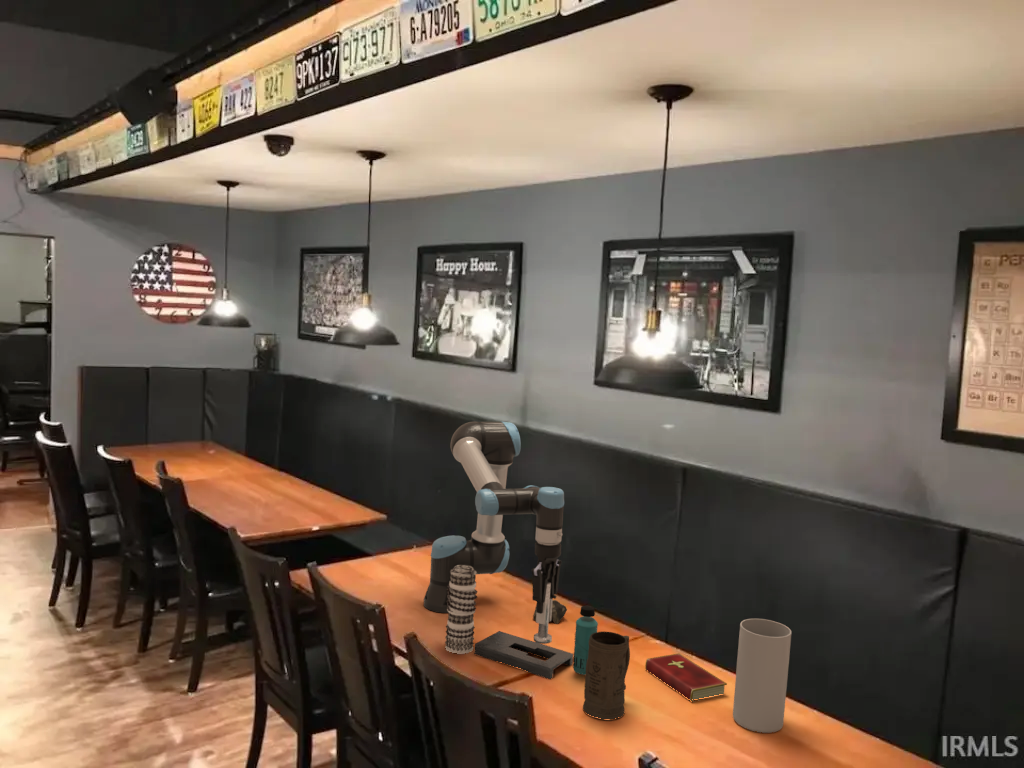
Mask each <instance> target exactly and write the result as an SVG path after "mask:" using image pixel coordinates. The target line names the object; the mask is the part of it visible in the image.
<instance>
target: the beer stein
mask: <svg viewBox="0 0 1024 768" xmlns="http://www.w3.org/2000/svg"><path fill="white" fill-rule="evenodd" d="M630 657H631V651H630V636H629V635H622V634H619V633H616V632H612V631H597V632H595V633H593V634H591V636H590V640H589V651H588V659H587V664H586V675H584V676H585V678H584V692H583V694H584V697H583V698H584V701H583V705H582V710H583V709H584V710H583V712H584V711H585V712H586V713H587V714H589V715H591V716H594V717H598V718H601V719H615V718H618V717H621V716H622V717H623V716H624V715H625V713H624V712H626V711H625V702H626V700H625V695H626V694H625V690H626V689H627V685H626V683H625V681H626V675H627V672H628V669H629V665H630V659H631V658H630ZM585 712H584V713H585ZM586 713H585V714H586ZM587 714H586V715H587ZM623 714H624V715H623ZM589 715H588V716H589ZM622 717H621V718H622Z"/></svg>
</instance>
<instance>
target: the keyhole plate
mask: <svg viewBox="0 0 1024 768" xmlns="http://www.w3.org/2000/svg"><path fill="white" fill-rule="evenodd" d="M512 647H513V648H512ZM515 648H516V649H515ZM518 649H519V650H518ZM521 650H522V651H521ZM525 651H526V652H525ZM528 652H529V653H528ZM531 653H532V654H531ZM473 654H474V655H475V654H476V656H479V657H482V658H485V659H488V660H490V659H491V660H490V661H493V662H496V661H498V662H497V663H499V662H502V663H505V664H508V665H511V666H514V667H518V668H521V669H523V670H526V671H528V672H527V673H529V674H533V675H535V676H538V677H541V678H544V677H545V679H547V678H548V680H552V679H553V678H554V670H555V669H557V668H558V667H560V666H561V665H567V666H569V667H571V666H573V663H574V662H573V657H574V655H573V654H574V652H573V653H571V652H568V651H566V650H563V649H559V648H557V647H553V646H550V645H547V644H541V643H537V642H535V641H534V640H530V639H527V638H523V637H519V636H517V635H513V634H510V633H507V632H504V631H500V630H499V631H497V632H496V631H495V632H494V633H492V634H490V635H489V636H487V637H485V638H482V640H479V641H477V642H476V643H474V653H473ZM529 654H531V655H534V654H535V656H537V655H538V656H537V657H540V656H541V657H540V658H543V657H545V658H544V659H546V660H543V659H540V658H537V657H534V656H530V655H529ZM547 658H548V659H547ZM502 663H501V664H502ZM505 664H504V665H505ZM508 665H507V666H508ZM511 666H510V667H511ZM514 667H513V668H514ZM523 670H522V671H523ZM526 671H525V672H526ZM551 678H552V679H551Z"/></svg>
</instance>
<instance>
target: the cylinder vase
mask: <svg viewBox="0 0 1024 768" xmlns="http://www.w3.org/2000/svg"><path fill="white" fill-rule="evenodd" d="M738 634H739V637H738V649H737V659H736V670H735V671H736V672H735V681H734V682H735V683H734V684H735V685H734V695H733V707H732V718H733V720H734V721H735V722H736V723H737V724H738V725H739V726H741V727H742V728H744V729H746V728H747V730H749V731H753V732H755V731H757V732H756V733H761V732H762V734H763V733H764V734H771V733H772V732H773V733H776V732H778V731H780V730H782V728H783V727H784V721H785V708H786V698H787V687H788V677H789V675H788V674H789V665H790V655H791V653H790V651H791V643H792V630H791V629H790V628H789V627H788V626H786V624H783V623H780V622H779V621H778V622H777V621H774V620H771V619H765V618H747V619H743V620H742V621H741V622H740V624H739V633H738Z"/></svg>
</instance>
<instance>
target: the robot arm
mask: <svg viewBox="0 0 1024 768" xmlns="http://www.w3.org/2000/svg"><path fill="white" fill-rule="evenodd" d="M518 429H519V428H517V426H516V425H515V423H514V422H510V421H508V422H506V421H502V420H501V421H469V422H466V423H463V424H462V425H460V426H459V427H458V428H456V430H455V431H454V433H453V434H452V436H451V440H450V451H451V454H452V455H453V457H454V460H456V461H457V462H458V463H460V464H461V466H462V467H463V469H464V472H465V473H466V475H467V477H468V479H469V480H470V482H471V484H472V486H473V488H474V489H475V491H476V495H475V498H474V499H475V500H474V503H475V505H474V506H475V509H476V512H477V521H476V529H475V530H474V531H473V532H472V533H471V537H470V540H469V539H468V540H467V539H466V537H465V536H461V535H447V536H441V537H439V538H437V539H435V540H434V541H433V542H432V545H431V552H430V572H429V573H430V575H429V576H430V577H429V583H428V586H427V589H426V592H425V595H424V597H423V607H424V608H425V609H427V610H429V611H432V612H435V613H444V614H448V613H449V612H448V611H447V607H448V605H447V600H448V598H447V596H448V591H447V589H448V587H447V585H448V584H449V583H450V576H451V573H450V571H451V570H452V569H453V568H454V567H455V566H457V565H469V566H471V567H473V569H474V570H475V571H476V572H477V574H476V575H487V574H489V575H492V574H497V573H502V572H503V571H504V570H505V569H506V568H507V566H508V564H509V559H510V545H509V542H508V541H507V539H505V538H506V537H505V535H504V533H503V532H502V525H503V517H504V515H506V516H507V515H508V516H509V515H531V514H532V515H535V516H536V520H535V521H536V524H535V525H536V526H535V537H534V539H535V542H534V554H535V556H536V557H537V562H536V563H537V565H536V567H535V568H534V567H532V568H531V574H532V575H531V576H532V601H534V602H536V604H537V611H536V620H535V623H536V624H538V625H539V624H543V625H545V620H546V603H547V602H545V596H546V589H547V581H548V582H550V583H551V588H550V605H549V622H552V600H556V599H557V594H558V589H559V579H560V572H561V566H562V562H563V561H562V560H560V559H558V558H559V557H560V556H561V554H562V543H561V542H562V537H563V521H564V508H565V492H564V490H563V489H561V488H558V487H555V486H554V487H553V486H542V487H539V486H537V485H527V486H525V487H523V488H506V486H507V480H508V479H507V477H508V469H509V467H510V466H511V465H512V464H513V463H514V462H513V461H514V458H515V457H518V456H519V455H520V452H521V448H522V446H521V445H522V444H521V436H520V433H519V430H518ZM449 591H450V590H449ZM449 598H450V597H449ZM449 602H450V601H449Z"/></svg>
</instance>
